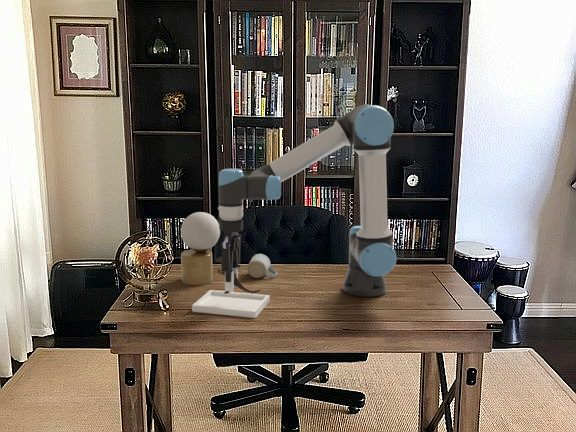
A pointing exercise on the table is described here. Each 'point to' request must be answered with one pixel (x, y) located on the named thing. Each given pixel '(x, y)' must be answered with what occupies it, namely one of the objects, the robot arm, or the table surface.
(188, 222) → the lamp
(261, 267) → the ceramic mug
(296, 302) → the table surface
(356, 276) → the robot arm
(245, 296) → the tray
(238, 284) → the dinosaur model
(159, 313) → the table surface
